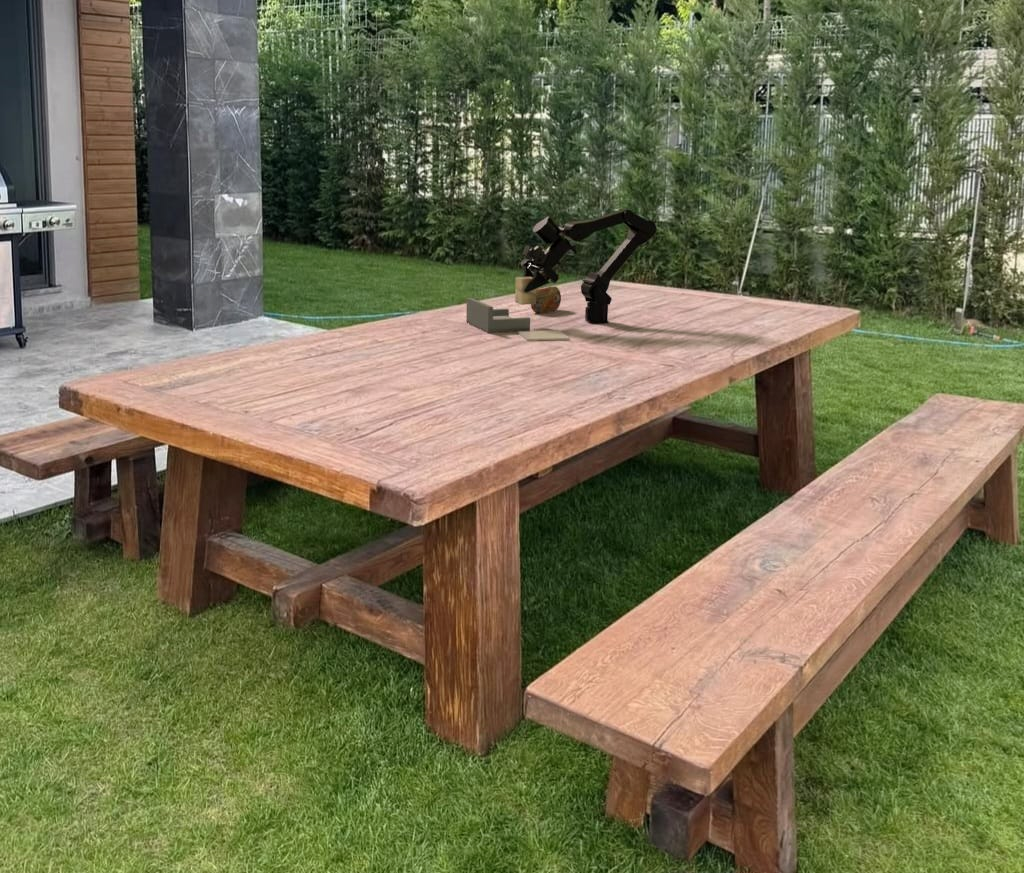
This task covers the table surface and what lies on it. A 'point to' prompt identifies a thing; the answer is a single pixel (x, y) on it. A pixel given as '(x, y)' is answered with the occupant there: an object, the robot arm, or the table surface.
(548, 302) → the tin
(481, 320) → the grey walled tray
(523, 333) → the tile
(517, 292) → the block
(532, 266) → the robot arm
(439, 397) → the table surface
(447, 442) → the table surface
